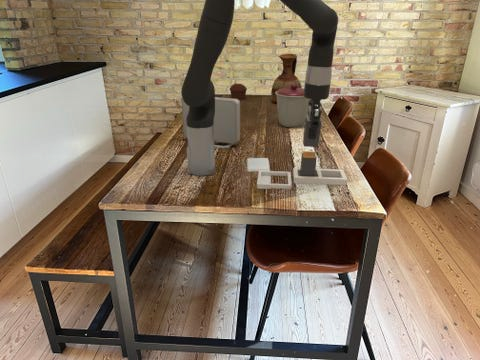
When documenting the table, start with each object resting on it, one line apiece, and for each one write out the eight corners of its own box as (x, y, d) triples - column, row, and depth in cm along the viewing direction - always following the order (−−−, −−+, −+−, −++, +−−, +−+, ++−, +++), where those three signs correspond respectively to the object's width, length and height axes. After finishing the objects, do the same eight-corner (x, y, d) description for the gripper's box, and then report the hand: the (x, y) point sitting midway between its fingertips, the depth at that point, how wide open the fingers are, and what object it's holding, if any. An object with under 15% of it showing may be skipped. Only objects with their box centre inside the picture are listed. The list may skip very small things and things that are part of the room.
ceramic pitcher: (266, 104, 224) (268, 54, 212) (276, 98, 241) (278, 51, 229) (297, 107, 217) (300, 55, 205) (304, 100, 234) (308, 52, 222)
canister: (280, 131, 172) (282, 87, 164) (269, 121, 189) (271, 80, 180) (315, 129, 176) (319, 85, 167) (302, 119, 192) (304, 79, 183)
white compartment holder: (293, 185, 117) (294, 177, 116) (292, 175, 125) (293, 167, 123) (346, 188, 116) (347, 179, 114) (342, 177, 123) (343, 169, 122)
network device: (181, 142, 157) (178, 97, 149) (191, 136, 165) (188, 93, 156) (234, 149, 149) (234, 102, 140) (242, 143, 156) (242, 97, 148)
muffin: (249, 98, 241) (249, 83, 237) (243, 101, 232) (243, 86, 228) (233, 96, 245) (232, 82, 241) (226, 100, 236) (226, 84, 232)
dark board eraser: (303, 146, 112) (307, 118, 109) (302, 141, 116) (305, 114, 113) (318, 147, 112) (321, 119, 108) (316, 142, 116) (320, 115, 112)
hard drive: (247, 157, 138) (247, 170, 126) (268, 157, 137) (270, 170, 126) (247, 161, 138) (247, 174, 127) (268, 161, 138) (270, 174, 127)
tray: (256, 190, 114) (256, 184, 114) (258, 176, 124) (258, 170, 123) (291, 191, 113) (291, 185, 113) (290, 177, 123) (290, 171, 122)
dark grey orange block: (300, 180, 118) (302, 155, 115) (300, 175, 122) (301, 150, 119) (314, 181, 118) (316, 156, 114) (313, 175, 122) (315, 151, 118)
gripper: (303, 77, 112) (298, 129, 120) (306, 85, 100) (300, 143, 107) (327, 78, 112) (320, 130, 119) (333, 86, 99) (325, 144, 106)
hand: (311, 136), depth 113 cm, fingers closed on dark board eraser, 4 cm apart
